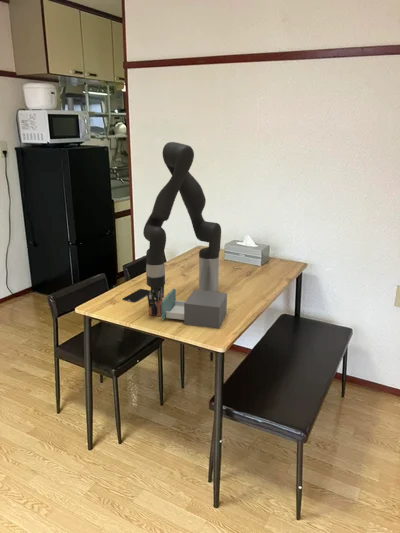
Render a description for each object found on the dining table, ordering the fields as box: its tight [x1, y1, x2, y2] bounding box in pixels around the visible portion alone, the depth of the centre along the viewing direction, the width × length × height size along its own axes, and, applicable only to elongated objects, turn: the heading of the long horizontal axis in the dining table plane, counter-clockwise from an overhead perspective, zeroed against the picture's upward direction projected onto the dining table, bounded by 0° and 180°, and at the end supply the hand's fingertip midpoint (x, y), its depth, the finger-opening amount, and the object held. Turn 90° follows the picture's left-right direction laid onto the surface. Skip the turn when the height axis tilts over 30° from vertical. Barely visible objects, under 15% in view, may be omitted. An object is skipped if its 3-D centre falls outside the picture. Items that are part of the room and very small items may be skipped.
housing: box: [183, 289, 228, 329], centre depth 174 cm, size 15×14×9 cm
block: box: [148, 299, 164, 317], centre depth 179 cm, size 5×5×5 cm
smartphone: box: [122, 288, 150, 304], centre depth 198 cm, size 8×1×15 cm
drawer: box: [161, 288, 186, 321], centre depth 176 cm, size 15×14×7 cm
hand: (156, 311), depth 180 cm, fingers closed on block, 5 cm apart
